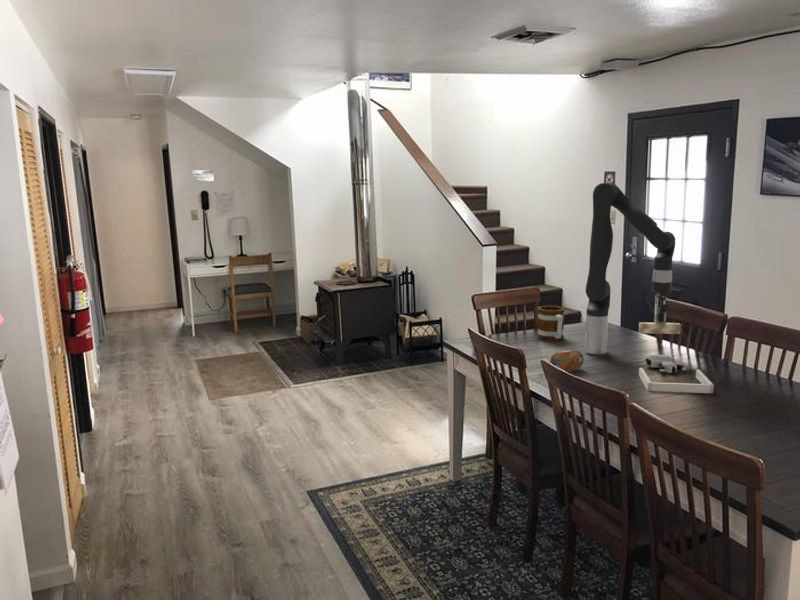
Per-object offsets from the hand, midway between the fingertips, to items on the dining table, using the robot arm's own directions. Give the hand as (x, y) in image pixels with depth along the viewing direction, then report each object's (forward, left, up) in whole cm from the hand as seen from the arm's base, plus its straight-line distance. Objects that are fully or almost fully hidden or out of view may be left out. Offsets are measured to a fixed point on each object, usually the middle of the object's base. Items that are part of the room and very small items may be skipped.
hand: (659, 320), depth 268 cm
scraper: (0, 0, -5) cm, 5 cm away
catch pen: (0, -29, -18) cm, 34 cm away
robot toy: (0, -12, -18) cm, 22 cm away
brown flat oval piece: (-39, -17, -18) cm, 46 cm away
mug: (-42, +33, -18) cm, 57 cm away
